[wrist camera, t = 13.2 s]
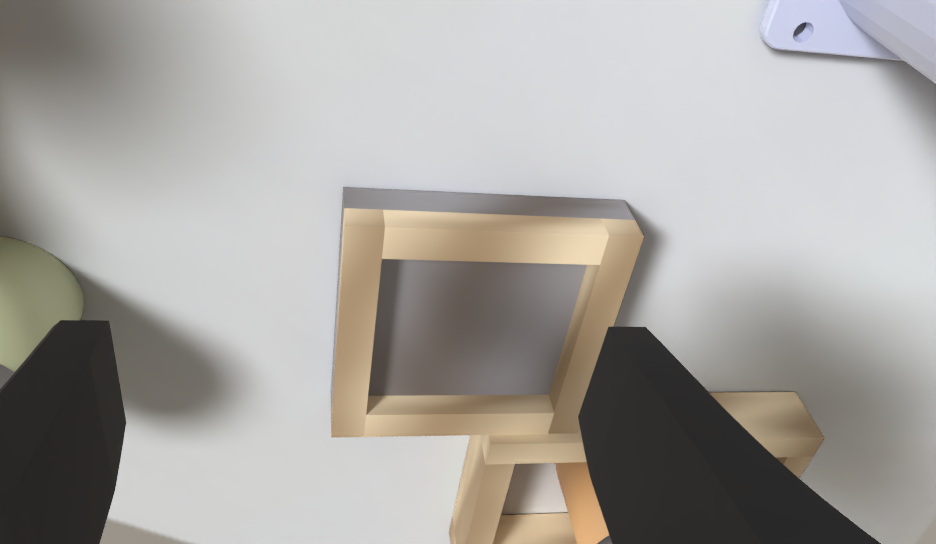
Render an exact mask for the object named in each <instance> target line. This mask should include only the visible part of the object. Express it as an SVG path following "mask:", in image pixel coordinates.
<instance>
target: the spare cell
mask: <svg viewBox="0 0 936 544" xmlns="http://www.w3.org/2000/svg"><path fill="white" fill-rule="evenodd" d="M83 310H84V296H83V292H82V289H81V287H80V284H79V282H78V281H77V279H76V277H75V276H74V274H73V273H72V272H71V271H70V270H69V269H68V267H66V266H65V265H64V264H63V263H62V262H61V261H60V260H58V259H57V258H56V257H54V256H53V255H52V254H50V253H48V252H46V251H45V250H43V249H41V248H39V247H37V246H35V245H32V244H29V243H27V242H24V241H21V240H17V239H13V238H8V237H2V236H0V389H1V388H2V386H3V385H4V384H5V383H6V382H7V381H8V380H9V378H10V377H11V376H12V375H13V374H14V373H15V371H16V370H17V369H18V368H19V367H20V366H21V364H22V363H23V362H24V361H25V360H26V358H27V357H28V356H29V355H30V354H31V352H32V351H33V350H34V349H35V348H36V346H37V345H38V344H39V343H40V342H41V340H42V339H43V338H44V337H45V336H46V334H47V333H48V332H49V331H50V329H51V328H52V327H53V326H54V325H55V324H57V323H58V322H59V321H60V320H81V317H82V313H83Z"/></svg>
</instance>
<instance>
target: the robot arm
mask: <svg viewBox="0 0 936 544" xmlns="http://www.w3.org/2000/svg"><path fill="white" fill-rule="evenodd" d="M805 22H806V28H805V29H804V30H803V32H802V33H801V34H799V35H798V36H793V33H794V30H795V29H796V27H797V26H799V25H800V24H802V23H805ZM760 35H761V38H762V39H763V41H764V42H765V43H766V44H767V45H769V46H770V47H771V48H774V49H779V50H790V51H801V52H812V53H823V54H834V55H845V56H856V57H867V58H878V59H889V60H900V61H905V62H907V63H908V64H909V65H911V66H912V67H913V68H915V69H916V70H917V71H919V72H920V73H922V74H923V75H924V76H926V77H927V78H928V79H930V80H931V81H933V82H934V83H935V84H936V0H770V1H769V4H768V6H767V9H766V12H765V14H764V17H763V20H762V22H761V26H760ZM578 420H579V425H580V430H581V436H582V441H583V446H584V451H585V456H586V461H587V465H588V470H589V474H590V478H591V481H592V485H593V488H594V491H595V494H596V497H597V500H598V503H599V506H600V509H601V512H602V515H603V518H604V521H605V523H606V526H607V529H608V532H609V535H610V538H611V541H612V544H881V543H879V542H878V541H877V540H875V539H874V538H872V537H871V536H870V535H868V534H867V533H866V532H864V531H863V530H862V529H860V528H859V527H858V526H857V525H855V524H854V523H853V522H852V521H850V520H849V519H848V518H847V517H845V516H844V515H843V514H841V513H840V512H839V511H838V510H836V509H835V508H834V507H833V506H831V505H830V504H829V503H828V502H826V501H825V500H824V499H822V498H821V497H820V496H819V495H818V494H816V493H815V492H814V491H813V490H812V489H811V488H809V487H808V486H807V485H806V484H805V483H803V482H802V481H801V480H800V479H799V478H798V477H797V476H796V475H794V474H793V473H792V472H791V471H790V470H789V469H788V468H787V467H786V466H784V465H783V464H782V463H781V462H780V461H779V460H778V459H777V458H776V457H774V456H773V455H772V454H771V453H770V452H769V451H768V450H767V449H766V448H765V447H764V446H762V445H761V444H760V443H759V442H758V441H757V440H756V439H755V438H754V437H753V436H752V435H751V434H750V433H749V432H748V431H747V430H746V429H745V428H744V427H743V426H742V425H741V424H740V423H739V422H737V421H736V420H735V419H734V418H733V417H732V416H731V415H730V414H729V413H728V412H727V411H726V410H725V409H724V408H723V407H722V406H721V404H720V403H719V402H718V401H717V400H716V399H715V398H714V397H713V396H712V395H711V394H710V393H709V392H708V391H707V390H706V389H705V388H704V387H703V386H702V385H701V384H700V383H699V382H698V381H697V380H696V379H695V378H694V377H693V376H692V375H691V374H690V372H689V371H688V370H687V369H686V368H685V367H684V366H683V365H682V364H681V363H680V362H679V361H678V360H677V359H676V358H675V357H674V356H673V355H672V354H671V353H670V352H669V351H668V349H667V348H666V347H665V346H664V345H663V344H662V343H661V342H660V341H659V340H658V339H657V338H656V337H655V336H654V335H653V334H652V333H651V332H650V331H649V330H648V329H647V328H646V327H608V329H607V332H606V335H605V338H604V341H603V344H602V347H601V350H600V353H599V356H598V359H597V362H596V365H595V368H594V371H593V374H592V377H591V380H590V383H589V386H588V389H587V392H586V395H585V398H584V400H583V403H582V406H581V409H580V412H579V415H578ZM125 426H126V419H125V413H124V408H123V402H122V396H121V390H120V384H119V378H118V372H117V366H116V360H115V354H114V348H113V342H112V336H111V330H110V324H109V321H87V320H60V321H59V322H58V323H57V324H55V325H54V326H53V327H52V328H51V329H50V331H49V332H48V333H47V334H46V336H45V337H44V338H43V339H42V340H41V342H40V343H39V344H38V345H37V346H36V348H35V349H34V350H33V351H32V352H31V354H30V355H29V356H28V357H27V358H26V360H25V361H24V362H23V363H22V364H21V366H20V367H19V368H18V369H17V370H16V371H15V373H14V374H13V375H12V376H11V377H10V378H9V380H8V381H7V382H6V383H5V384H4V385H3V386H2V388H1V389H0V544H99V543H100V539H101V536H102V533H103V529H104V526H105V523H106V519H107V516H108V512H109V509H110V505H111V502H112V498H113V495H114V491H115V486H116V481H117V475H118V469H119V463H120V457H121V451H122V445H123V438H124V432H125Z"/></svg>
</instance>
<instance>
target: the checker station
mask: <svg viewBox="0 0 936 544" xmlns="http://www.w3.org/2000/svg"><path fill="white" fill-rule="evenodd" d="M643 239H644V236H643V234H642V232H641V230H640V228H639V226H638V225H637V223H636V221H635V219H634V217H633V215H632V213H631V212H630V210H629V208H628V206H627V204H626V202H625V200H608V199H587V198H565V197H543V196H522V195H500V194H478V193H457V192H435V191H414V190H392V189H370V188H349V187H343V201H342V217H341V234H340V251H339V268H338V284H337V301H336V318H335V334H334V351H333V368H332V384H331V434H332V437H386V436H446V435H471V436H470V440H469V445H468V449H467V454H466V458H465V463H464V467H463V472H462V476H461V481H460V485H459V490H458V494H457V499H456V503H455V508H454V512H453V517H452V521H451V526H450V530H449V535H450V542H451V544H577V542H576V539H575V535H574V531H573V528H572V524H571V521H570V517H569V514H568V513H550V514H524V515H501V512H502V509H503V505H504V502H505V498H506V495H507V491H508V488H509V484H510V480H511V477H512V473H513V470H514V466H515V464H530V463H570V462H587V461H586V456H585V451H584V446H583V441H582V436H581V430H580V425H579V420H578V415H579V412H580V409H581V406H582V403H583V400H584V398H585V395H586V392H587V389H588V386H589V383H590V380H591V377H592V374H593V371H594V368H595V365H596V362H597V359H598V356H599V353H600V350H601V347H602V344H603V341H604V338H605V335H606V332H607V329H608V327H613V326H614V323H615V320H616V317H617V315H618V312H619V309H620V306H621V303H622V300H623V297H624V294H625V291H626V288H627V285H628V282H629V279H630V277H631V274H632V271H633V268H634V265H635V262H636V259H637V256H638V253H639V250H640V247H641V244H642V241H643ZM709 393H710V394H711V395H712V396H713V397H714V398H715V399H716V400H717V401H718V402H719V403H720V404H721V406H722V407H723V408H724V409H725V410H726V411H727V412H728V413H729V414H730V415H731V416H732V417H733V418H734V419H735V420H736V421H737V422H739V423H740V424H741V425H742V426H743V427H744V428H745V429H746V430H747V431H748V432H749V433H750V434H751V435H752V436H753V437H754V438H755V439H756V440H757V441H758V442H759V443H760V444H761V445H762V446H764V447H765V448H766V449H767V450H768V451H769V452H770V453H771V454H772V455H773V456H774V457H776V458H777V459H778V460H779V461H780V462H781V463H782V464H783V465H784V466H786V467H787V468H788V469H789V470H790V471H791V472H792V473H793V474H794V475H796V476H797V477H798V478H800V476H801V475H802V473H803V472H804V470H805V469H806V467H807V465H808V464H809V462H810V461H811V459H812V457H813V456H814V454H815V453H816V451H817V449H818V448H819V446H820V445H821V443H822V441H823V440H824V436H823V435H822V433H821V432H820V430H819V428H818V427H817V425H816V424H815V422H814V420H813V419H812V417H811V416H810V414H809V412H808V411H807V409H806V408H805V406H804V405H803V403H802V401H801V400H800V398H799V397H798V395H797V393H796V392H709Z"/></svg>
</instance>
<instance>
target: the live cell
mask: <svg viewBox="0 0 936 544" xmlns="http://www.w3.org/2000/svg"><path fill="white" fill-rule="evenodd" d="M556 471H557V475H558V478H559V482H560V486H561V489H562V493H563V496H564V500H565V503H566V507H567V510H568V514H569V517H570V521H571V524H572V528H573V531H574V535H575V539H576V542H577V544H612V541H611V538H610V535H609V532H608V529H607V526H606V523H605V521H604V518H603V515H602V512H601V509H600V506H599V503H598V500H597V497H596V494H595V491H594V488H593V485H592V481H591V478H590V474H589V470H588V465H587V462H570V463H556Z"/></svg>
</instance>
